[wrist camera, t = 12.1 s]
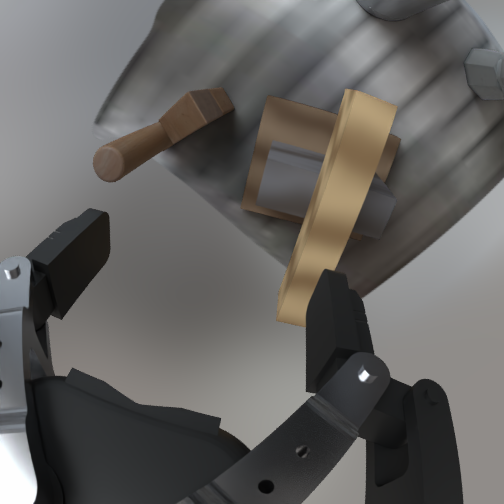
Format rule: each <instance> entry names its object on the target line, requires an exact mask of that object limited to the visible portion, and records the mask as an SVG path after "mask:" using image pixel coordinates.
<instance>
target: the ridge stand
mask: <svg viewBox="0 0 504 504" xmlns="http://www.w3.org/2000/svg"><path fill="white" fill-rule="evenodd" d="M337 116H338V115H337V114H334V113H331V112H328V111H325V110H322V109H318V108H315V107H312V106H308V105H305V104H301V103H298V102H294V101H290V100H286V99H282V98H278V97H274V96H270V95H268V96H267V99H266V103H265V107H264V111H263V115H262V119H261V123H260V127H259V132H258V136H257V140H256V144H255V148H254V152H253V156H252V161H251V165H250V169H249V173H248V178H247V182H246V186H245V190H244V195H243V199H242V203H241V209H245V210H249V211H253V212H257V213H261V214H265V215H268V216H272V217H276V218H280V219H284V220H287V221H291V222H295V223H299V224H302V225H303V222H304V219H305V216H306V213H307V210H308V207H309V204H310V201H311V198H312V195H313V192H314V189H315V186H316V183H317V180H318V177H319V174H320V171H321V168H322V164H323V161H324V158H325V155H326V152H327V149H328V146H329V142H330V139H331V136H332V133H333V130H334V126H335V123H336V120H337ZM400 141H401V139H400V138H398V137H397V136H394V135H392V134H390V133H389V135H388V138H387V141H386V143H385V146H384V149H383V152H382V155H381V158H380V160H379V163H378V166H377V169H376V171H375V174H374V177H373V179H372V182H371V184H370V187H369V190H368V192H367V195H366V197H365V200H364V202H363V205H362V207H361V210H360V212H359V215H358V217H357V220H356V222H355V224H354V227H353V229H352V231H351V234H350V236H349V238H352V239H356V240H359V241H361V238H362V236H363V235H365V236H368V237H372V238H375V239H378V240H380V238H381V236H382V233H383V231H384V229H385V227H386V225H387V222H388V220H389V218H390V216H391V213H392V211H393V209H394V207H395V204H396V202H397V199H396V197H395V196H394V195H393V193H392V192H391V191H390V190H389V188H388V187H387V186H386V185H385V181H386V179H387V176H388V173H389V171H390V168H391V165H392V163H393V160H394V157H395V155H396V152H397V149H398V146H399V143H400Z"/></svg>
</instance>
